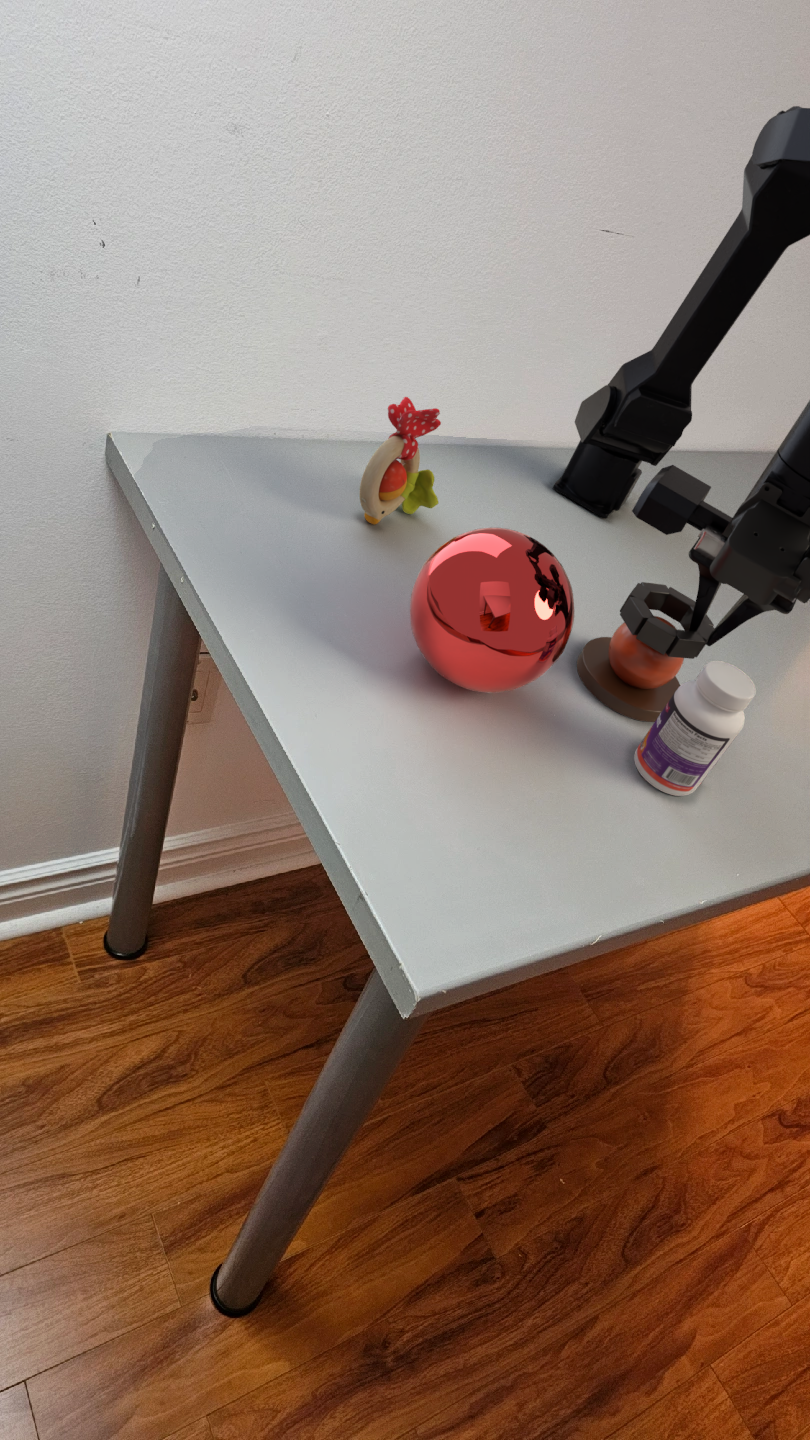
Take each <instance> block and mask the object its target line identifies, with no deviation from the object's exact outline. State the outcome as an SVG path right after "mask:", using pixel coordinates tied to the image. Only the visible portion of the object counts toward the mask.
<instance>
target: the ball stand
mask: <svg viewBox="0 0 810 1440" xmlns="http://www.w3.org/2000/svg"><path fill="white" fill-rule="evenodd" d="M653 616H654V617H656V618H658V619H659V620H661V621H663V622H664V623H666V624H668V625H669V626H671V627H673V628H674V629H676V630H678V629H677V627H676V626H675V625H673V623H671V622H670V621H669V620H667V619H666V618H663V617H661V616H659V615H653ZM636 637H637V635H632V633H631V632H630V630H629V629H628V627H627V625H626V624H625V622H624V621H623V623H621V625H619V626H618V627H617V628H616V630H615V631H614V633H613V635H612V636H599V637H596V638H593V639H591V640H589V641H588V642H587V643H586V644H585V645H584V647H583V648H582V650H581V652H580V653H579V655H578V657H577V660H576V670H577V673H578V677H579V678H580V681H581V682H582V684H583V685H584V686H585V688H586V689H587V690H588V692H589V693H591V695H592V696H593V697H595V698H596V699H597V700H598V701H599V702H600V703H602V704H603V705H604V706H605V707H607V708H609V709H610V710H612V711H614V712H616V713H618V714H620V715H622V716H625V717H627V718H630V719H632V720H636V721H640V722H648V723H654V722H655V721H656V719H657V718H658V717H659V715H660V713H661V712H662V711H663V709H664V708H665V706H666V705H667V703H668V702H669V700H670V699H671V697H672V696H673V694H674V693H675V692H676V690H677V689H678V688H679V687H680V686H681V684H680V681H679V679H678V678H677V675H678V673H679V672H680V670H681V669H682V666H683V664H684V659H685V658H678V657H668V655H667V654H666V653H665V654H664V655H663V654H661V653H660V652H658V651H656V650H655V649H653V648H651V647H650V646H648V645H646V644H645V643H643V642H641V641H640V640H638V639H636Z"/></svg>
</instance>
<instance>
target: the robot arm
mask: <svg viewBox="0 0 810 1440" xmlns="http://www.w3.org/2000/svg"><path fill="white" fill-rule="evenodd" d="M741 200H742V201H741V202H742V203H741V210H740V212H739V213H738V214H737V216H736V218H735V220H734V221H733V223H732V225H730V228H729V229H728V230H727V232H726V234H725V235H724V237H723V238H722V240H721V241H720V243H719V245H718V246H717V248H716V249H715V251H714V253H712V255H711V257H710V259H709V260H708V262H707V263H706V265H705V267H704V268H703V270H702V271H701V273H700V274H699V275H698V277H697V278H696V280H695V282H694V284H693V285H692V287H691V288H690V290H689V291H688V293H687V294H686V296H685V297H684V299H683V301H682V302H681V304H680V305H679V307H678V309H677V310H676V311H675V313H674V315H673V316H672V318H671V320H670V321H669V323H668V324H667V325H666V327H665V329H664V331H663V332H662V333H661V335H660V337H659V338H658V340H657V341H656V343H655V344H654V346H653V347H652V348H651V349H650V350H649V351H646V352H645V353H643V354H641V355H639V356H637V357H635V358H633V359H630V360H629V361H627V362H625V363H623V364H622V365H621V366H620V367H619V368H618V370H617V371H616V373H615V374H614V376H613V377H612V378H611V379H610V381H609V382H608V383H607V384H606V385H604V386H602V387H601V388H599V389H598V390H596V391H595V392H594V393H592V394H591V395H590V396H588V397H586V398H585V399H583V400H582V401H581V403H580V405H579V408H578V410H577V414H576V416H575V418H574V425H575V428H576V431H577V433H578V436H579V442H578V443H577V446H576V448H575V450H574V452H573V453H572V455H571V457H570V459H569V461H568V463H567V465H566V467H565V469H564V471H563V473H562V475H561V477H560V478H558V480H556V481H555V482H554V483H553V485H552V489H553V490H555V491H556V492H558V493H559V494H562V495H563V496H565V497H567V498H568V499H570V500H572V501H574V502H575V503H577V504H579V505H581V506H582V507H584V508H585V509H587V510H589V511H590V512H592V513H593V514H595V515H597V516H599V517H601V518H603V519H608V518H609V517H610V516H611V514H612V513H613V512H618V511H620V510H621V508H622V507H623V506H624V505H625V504H626V502H627V500H628V499H629V497H630V495H631V493H632V491H633V490H634V488H635V486H636V484H637V483H638V480H639V479H640V478H641V475H642V474H643V472H642V469H641V468H639V467H640V466H641V464H642V462H644V463H647V464H650V465H651V466H655V467H656V466H658V465H659V463H660V462H661V461H662V460H663V459H664V458H665V457H666V455H667V454H669V451H670V450H671V449H672V448H673V447H675V446H676V444H677V442H678V441H679V440H680V438H681V437H682V436H683V432H684V430H685V429H686V428H687V427H688V426H689V424H690V423H691V422H692V419H693V411H692V392H693V391H692V386H693V383H694V382H695V380H696V378H697V377H698V376H699V374H700V373H701V372H702V370H703V369H704V367H705V366H706V364H707V363H708V362H709V360H710V359H711V357H712V356H713V354H714V353H715V351H716V350H717V348H718V347H719V346H720V345H721V343H722V342H723V340H724V339H725V337H726V336H727V334H728V333H729V331H730V330H731V329H732V327H733V326H734V325H735V323H736V321H737V320H738V319H739V317H740V316H741V315H742V313H743V311H744V310H745V309H746V307H747V306H748V304H749V303H750V301H751V300H752V298H753V297H754V296H755V294H756V293H757V291H758V290H759V288H760V287H761V286H762V285H763V282H764V281H765V280H766V279H767V277H768V275H769V274H770V273H771V271H772V270H773V268H774V267H775V265H776V264H777V263H778V261H779V260H780V258H781V257H782V256H783V254H784V253H785V251H786V250H787V249H788V248H789V247H791V246H792V245H794V244H796V243H798V242H800V241H802V240H803V239H805V238H808V237H809V236H810V107H802V106H800V105H794V106H791V107H790V108H788V109H786V111H785V110H783V109H782V110H780V111H779V112H778V113H776V115H773V116H772V117H771V118H769V120H767V122H766V123H765V124H764V125H763V127H762V129H761V130H760V132H759V133H758V136H757V138H756V140H755V142H754V145H753V149H752V152H751V156H750V158H749V159H748V162H747V164H746V165H745V168H744V170H743V182H742V199H741ZM711 489H712V486H711V485H709V484H708V483H706V482H704V481H702V480H701V479H698V478H697V477H695V476H693V475H692V474H690V473H688V472H687V471H685V470H683V469H681V468H679V467H677V466H676V465H674V464H671V465H667V466H665V467H662V468H661V469H660V470H659V471H658V472H657V473H656V475H654V476H653V478H652V479H651V480H650V481H649V482H648V483H647V484H646V486H645V487H644V488H643V490H642V492H641V494H640V496H639V497H638V499H637V501H636V503H635V504H634V506H633V508H632V510H631V512H632V513H633V515H634V517H635V518H637V519H638V520H640V521H642V522H644V523H645V524H647V525H648V526H651V528H653V529H656V530H657V531H659V532H661V533H662V534H664V535H665V536H668V535H672V534H677V533H682V531H683V530H684V528H685V527H686V525H687V524H688V525H690V526H691V527H693V528H694V529H696V530H698V531H700V532H699V534H698V535H697V537H698V539H696V541H695V543H694V544H693V545H692V547H691V548H690V550H689V551H688V558H689V559H690V560H691V561H692V562H694V563H696V565H697V567H698V586H697V587H698V588H697V594H696V599H695V606H694V610H693V615H692V619H691V623H690V627H689V631H696V630H697V629H698V627H699V626H700V624H701V623H702V621H703V619H704V617H705V616H706V614H707V615H708V612H709V610H710V608H711V606H712V604H713V602H714V600H715V598H716V596H717V594H718V591H719V589H720V588H721V585H728V586H729V587H730V588H733V589H735V590H736V591H738V592H740V593H742V595H741V596H740V598H738V600H737V601H736V602H735V603H734V604H733V606H732V607H731V608H730V609H729V610H728V612H726V613H725V615H724V616H722V618H721V619H720V621H719V622H718V623H717V625H716V626H715V627H714V628H715V629H714V631H713V632H712V634H711V636H710V638H709V640H708V642H707V643H706V645H705V646H707V647H712V646H713V645H714V644H716V643H717V642H719V641H720V640H722V639H723V638H724V637H726V636H727V635H728V634H730V633H732V631H734V630H735V629H737V628H738V627H740V626H741V625H743V624H745V623H746V622H747V621H749V620H751V619H753V618H755V617H757V616H758V615H761V614H764V613H766V612H771V611H777V612H779V613H781V614H783V615H788V614H790V613H791V612H792V611H793V609H794V607H795V605H796V603H797V601H799V602H801V603H802V604H807V603H808V601H810V399H809V400H808V401H807V403H806V405H805V406H804V408H803V409H802V411H801V412H800V414H799V416H798V417H797V419H796V420H795V421H794V423H793V425H792V427H791V428H790V429H789V431H788V432H787V434H786V436H785V437H784V439H783V440H782V442H781V444H780V445H779V447H778V448H777V450H776V451H775V453H774V454H773V456H772V457H771V459H770V460H769V461H768V463H767V465H766V466H765V468H764V469H763V471H762V473H761V474H760V476H759V478H757V480H756V482H755V484H754V485H753V486H752V488H751V490H750V491H749V493H748V494H747V496H746V497H745V499H744V500H743V502H742V503H741V504H740V506H739V507H738V509H737V510H736V511H735V513H734V515H733V516H731V515H729V514H727V513H725V512H723V511H722V510H720V509H718V508H716V507H715V506H713V505H711V504H709V503H708V502H706V501H705V499H706V498H707V496H708V495H709V492H710V491H711Z"/></svg>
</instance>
